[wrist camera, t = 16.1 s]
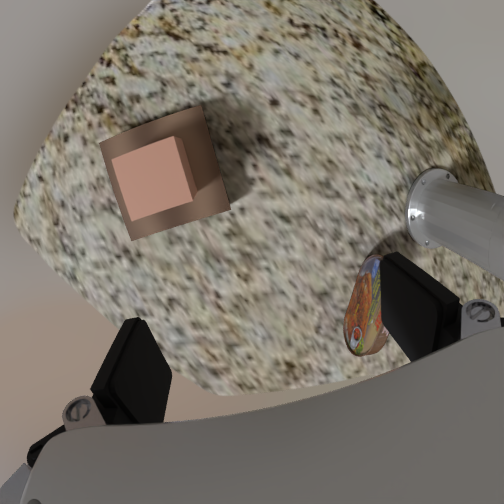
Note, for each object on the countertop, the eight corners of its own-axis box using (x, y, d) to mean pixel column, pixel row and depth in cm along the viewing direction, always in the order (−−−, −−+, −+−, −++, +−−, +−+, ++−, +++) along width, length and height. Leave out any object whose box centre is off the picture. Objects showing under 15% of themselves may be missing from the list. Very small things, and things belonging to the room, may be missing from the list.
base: (202, 108, 30) (201, 104, 27) (229, 204, 34) (231, 209, 31) (108, 143, 29) (99, 142, 27) (138, 233, 34) (131, 241, 31)
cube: (181, 138, 28) (173, 135, 22) (197, 191, 30) (193, 200, 24) (130, 157, 28) (111, 159, 22) (146, 208, 30) (131, 221, 24)
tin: (366, 245, 38) (398, 269, 30) (383, 248, 39) (416, 270, 31) (337, 334, 43) (358, 368, 35) (353, 334, 43) (376, 367, 36)
